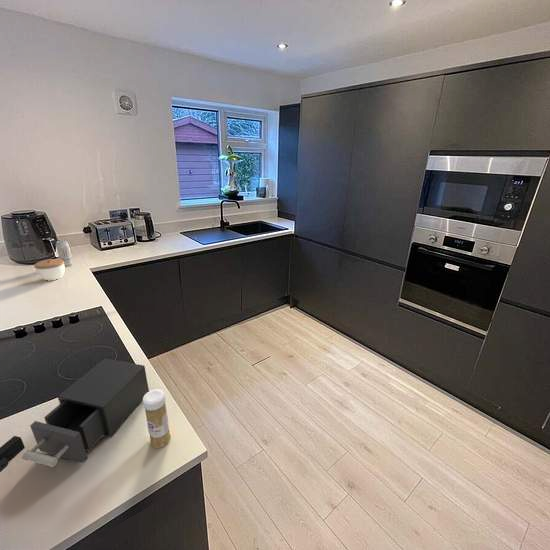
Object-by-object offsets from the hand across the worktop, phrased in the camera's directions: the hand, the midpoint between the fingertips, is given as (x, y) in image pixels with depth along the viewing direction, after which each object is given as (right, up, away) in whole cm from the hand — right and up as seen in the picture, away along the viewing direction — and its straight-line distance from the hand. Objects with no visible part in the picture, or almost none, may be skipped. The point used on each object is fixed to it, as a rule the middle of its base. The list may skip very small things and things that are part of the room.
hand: (19, 441), depth 53 cm
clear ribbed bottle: (-79, +37, +122) cm, 150 cm away
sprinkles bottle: (+21, -8, +15) cm, 26 cm away
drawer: (+2, -7, +13) cm, 15 cm away
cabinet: (+4, -4, +23) cm, 23 cm away
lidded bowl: (-73, +29, +102) cm, 129 cm away
